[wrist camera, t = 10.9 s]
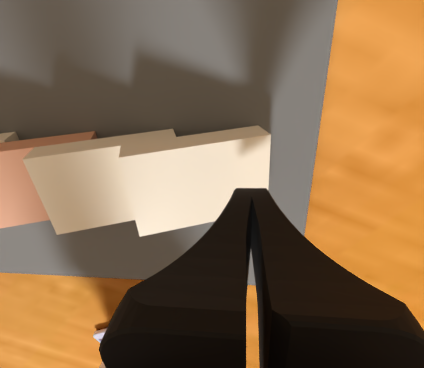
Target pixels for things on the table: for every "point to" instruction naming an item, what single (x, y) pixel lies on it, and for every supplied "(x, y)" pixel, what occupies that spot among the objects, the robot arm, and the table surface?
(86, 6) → the felt mat
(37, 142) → the domino
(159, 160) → the domino
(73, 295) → the table surface
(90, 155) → the domino
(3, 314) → the table surface
